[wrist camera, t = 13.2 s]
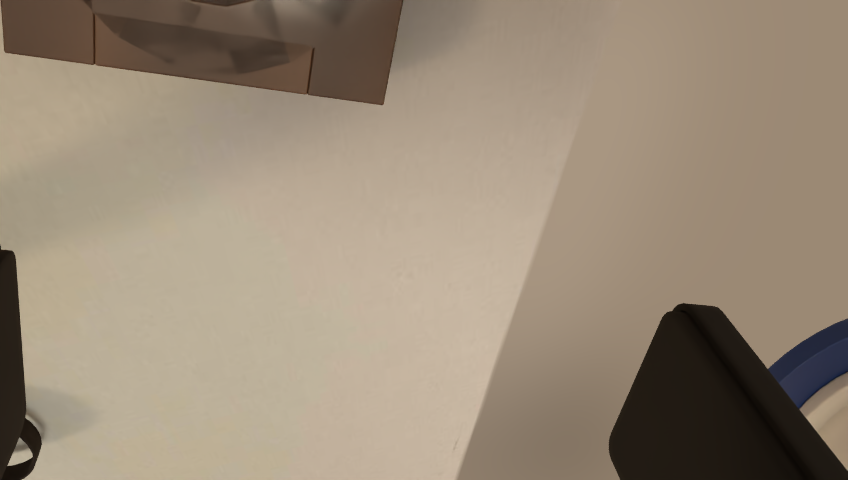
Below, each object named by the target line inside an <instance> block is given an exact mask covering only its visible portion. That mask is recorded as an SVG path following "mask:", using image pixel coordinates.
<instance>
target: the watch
mask: <svg viewBox="0 0 848 480" xmlns="http://www.w3.org/2000/svg"><path fill="white" fill-rule="evenodd" d="M20 438H21V439H22V440H23V441H24V442H25V443H26V444H27V445H28V447H29V448H30V450H31V451H32V454H33V457H32V458H31V459H29V460H27V461H26V462H23V463H20V464H16V465H13V466H7V467H6V470H5V472H4V475H3V477H2V479H1V480H22V479H24V478H25V477H27V476H28V475H29V474H30V473H31V472H32V470H33V469H34V466H35V463H36V461H37V458H38V455H39V452H40V449H41V445H42V442H41V436H40V434H39V432H38V430H37V428H36V427H35V426H34V425H33V424H32V423H31V422H30V421H29V420H27V419H26V418H25V420H24V425H23V429H22V432H21V434H20Z"/></svg>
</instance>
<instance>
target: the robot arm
mask: <svg viewBox="0 0 848 480" xmlns="http://www.w3.org/2000/svg"><path fill="white" fill-rule="evenodd" d="M25 414H26V397H25V383H24V368H23V354H22V340H21V326H20V312H19V298H18V283H17V269H16V259H15V255H14V252H13V251H10V250H1V246H0V480H1V479H2V477H3V475H4V472H5V470H6V467H7V465H8V463H9V460H10V458H11V456H12V453H13V451H14V449H15V446H16V444H17V442H18V439H19V437H20V434H21V432H22V429H23V425H24V420H25ZM609 453H610V457H611V460H612V462H613V464H614V467H615V469H616V471H617V473H618V476H619V477H620V480H848V372H846V373H845V374H843V375H841V376H839V377H837V378H835V379H834V380H832V381H831V382H829V383H828V384H826V385H825V386H823V387H822V388H821V389H819V390H818V391H817V392H816V393H815V394H814V395H812V396H811V397H810V398H809V399H808V400H807V401H806V402H805V403H804V404H803V405H802V406H801V407H800V408H798V407H797V406H796V405H795V403H794V402H793V401H792V399H791V398H790V397H789V396H788V394H787V393H786V392H785V391H784V389H783V388H782V387H781V385H780V384H779V383H778V382H777V380H776V379H775V378H774V377H773V375H772V374H771V373H770V371H769V370H768V369H767V368H766V367H765V365H764V364H763V363H762V361H761V360H760V359H759V357H758V356H757V355H756V354H755V352H754V351H753V350H752V349H751V347H750V346H749V345H748V343H747V342H746V341H745V340H744V338H743V337H742V336H741V335H740V333H739V332H738V331H737V330H736V328H735V327H734V326H733V325H732V323H731V322H730V321H729V319H728V318H727V317H726V315H725V314H724V313H723V312H722V311H721V310H720V309H719V308H718V307H714V306H706V305H696V304H685V303H683V304H679V305H677V306H676V307H675V308H674V309H673V311H670V312H667V313H666V314H665V315H664V316H663V317H662V320H661V321H660V324H659V326H658V328H657V330H656V333H655V335H654V337H653V340H652V342H651V344H650V346H649V349H648V351H647V353H646V356H645V358H644V360H643V362H642V364H641V367H640V369H639V371H638V373H637V376H636V378H635V380H634V383H633V385H632V387H631V390H630V392H629V394H628V396H627V399H626V401H625V403H624V405H623V408H622V410H621V412H620V415H619V417H618V419H617V421H616V423H615V426H614V428H613V430H612V432H611V436H610V439H609Z"/></svg>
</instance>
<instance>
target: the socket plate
mask: <svg viewBox="0 0 848 480" xmlns="http://www.w3.org/2000/svg"><path fill="white" fill-rule="evenodd" d="M402 4H403V0H1V11H2V25H3V39H4V51H5V52H6V53H12V54H19V55H26V56H33V57H40V58H48V59H55V60H62V61H69V62H76V63H84V64H91V65H94V64H96V65H98V66H105V67H112V68H120V69H127V70H134V71H141V72H148V73H156V74H163V75H170V76H177V77H184V78H191V79H199V80H206V81H213V82H220V83H227V84H235V85H242V86H249V87H256V88H263V89H270V90H278V91H285V92H292V93H299V94H307V93H308V95H313V96H320V97H327V98H335V99H342V100H349V101H356V102H363V103H371V104H378V105H383V104H384V99H385V94H386V89H387V84H388V78H389V73H390V68H391V62H392V57H393V52H394V46H395V41H396V36H397V31H398V25H399V20H400V15H401V9H402Z"/></svg>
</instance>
